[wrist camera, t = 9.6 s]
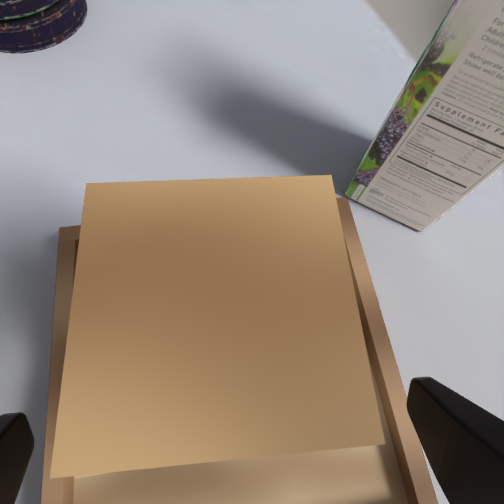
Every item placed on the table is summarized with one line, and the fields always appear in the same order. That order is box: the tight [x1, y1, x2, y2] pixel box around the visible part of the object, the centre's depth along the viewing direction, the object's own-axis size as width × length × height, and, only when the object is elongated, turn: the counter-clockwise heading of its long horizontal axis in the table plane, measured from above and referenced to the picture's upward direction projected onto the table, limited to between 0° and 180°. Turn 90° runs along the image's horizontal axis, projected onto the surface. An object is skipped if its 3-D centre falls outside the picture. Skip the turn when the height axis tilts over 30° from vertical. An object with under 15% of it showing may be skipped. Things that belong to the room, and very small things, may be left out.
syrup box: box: [345, 0, 504, 232], centre depth 17 cm, size 6×6×14 cm
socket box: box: [41, 197, 438, 504], centre depth 17 cm, size 16×16×3 cm
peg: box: [50, 175, 385, 479], centre depth 12 cm, size 4×4×14 cm
